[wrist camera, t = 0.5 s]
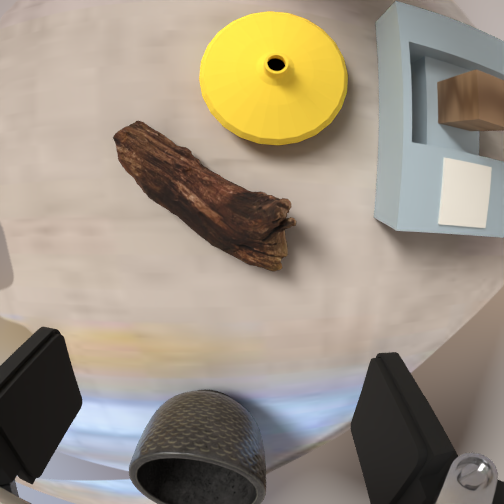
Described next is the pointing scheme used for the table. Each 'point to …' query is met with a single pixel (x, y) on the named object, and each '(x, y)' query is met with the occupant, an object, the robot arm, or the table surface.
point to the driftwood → (206, 198)
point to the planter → (200, 453)
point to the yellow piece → (273, 78)
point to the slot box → (432, 128)
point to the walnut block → (471, 101)
